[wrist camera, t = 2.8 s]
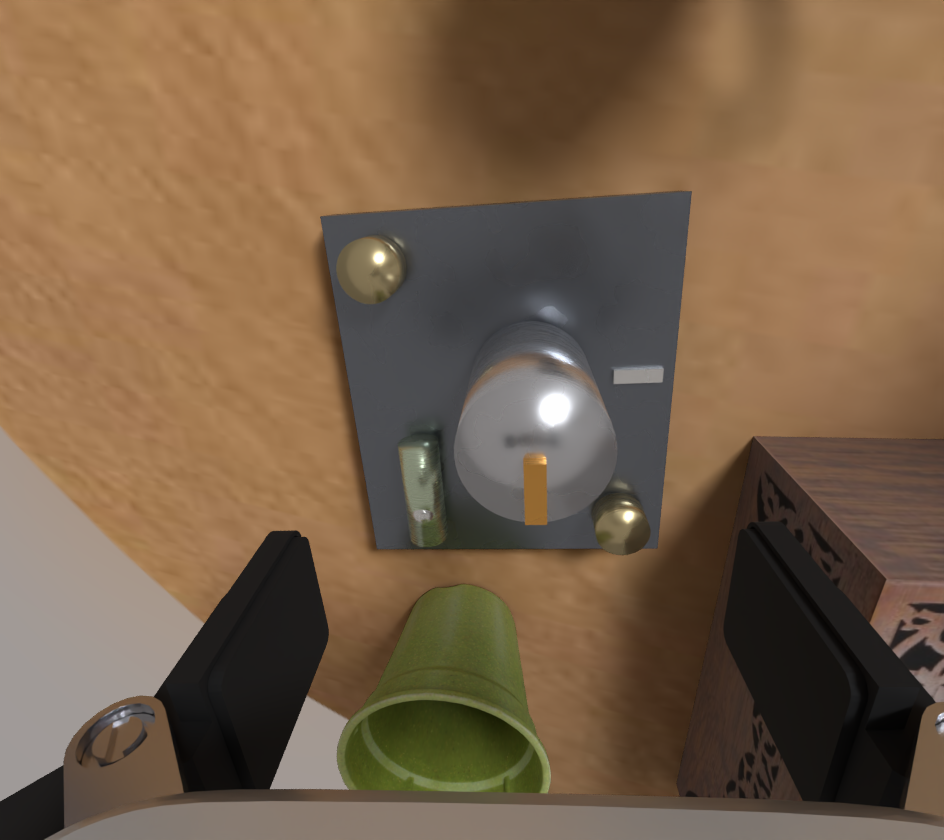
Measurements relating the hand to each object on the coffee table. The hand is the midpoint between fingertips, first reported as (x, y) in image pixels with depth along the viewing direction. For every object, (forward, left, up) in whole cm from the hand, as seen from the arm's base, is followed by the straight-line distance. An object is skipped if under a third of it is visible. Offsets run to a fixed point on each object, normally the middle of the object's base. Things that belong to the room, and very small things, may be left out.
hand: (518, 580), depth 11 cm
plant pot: (+15, -4, -14) cm, 21 cm away
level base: (+1, 0, -14) cm, 14 cm away
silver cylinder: (0, +1, -12) cm, 12 cm away
